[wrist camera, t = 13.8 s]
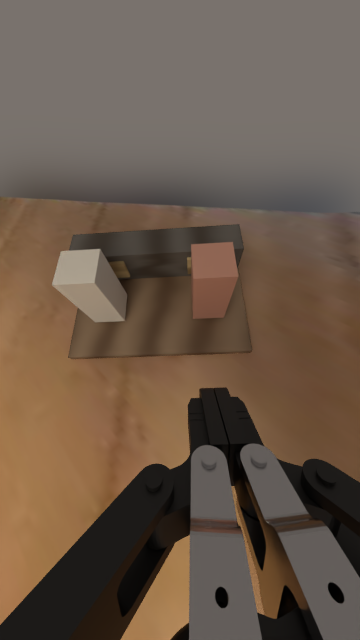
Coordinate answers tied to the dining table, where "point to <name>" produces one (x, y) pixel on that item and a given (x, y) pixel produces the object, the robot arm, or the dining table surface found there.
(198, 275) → the brick key
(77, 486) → the dining table surface
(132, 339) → the switch board
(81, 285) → the cream key
